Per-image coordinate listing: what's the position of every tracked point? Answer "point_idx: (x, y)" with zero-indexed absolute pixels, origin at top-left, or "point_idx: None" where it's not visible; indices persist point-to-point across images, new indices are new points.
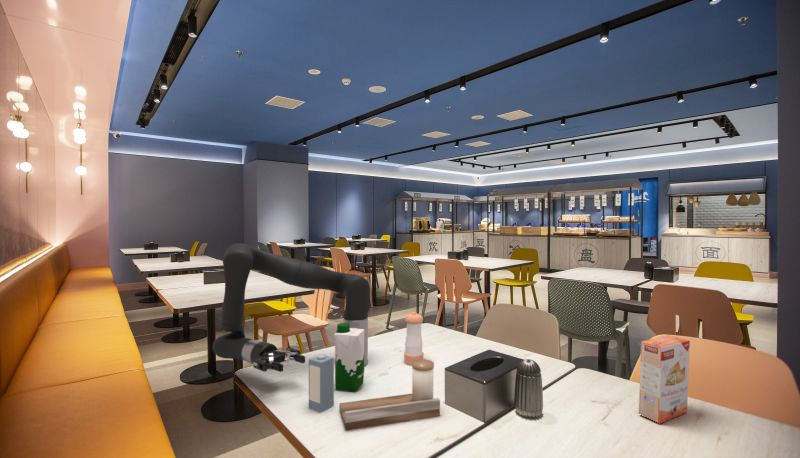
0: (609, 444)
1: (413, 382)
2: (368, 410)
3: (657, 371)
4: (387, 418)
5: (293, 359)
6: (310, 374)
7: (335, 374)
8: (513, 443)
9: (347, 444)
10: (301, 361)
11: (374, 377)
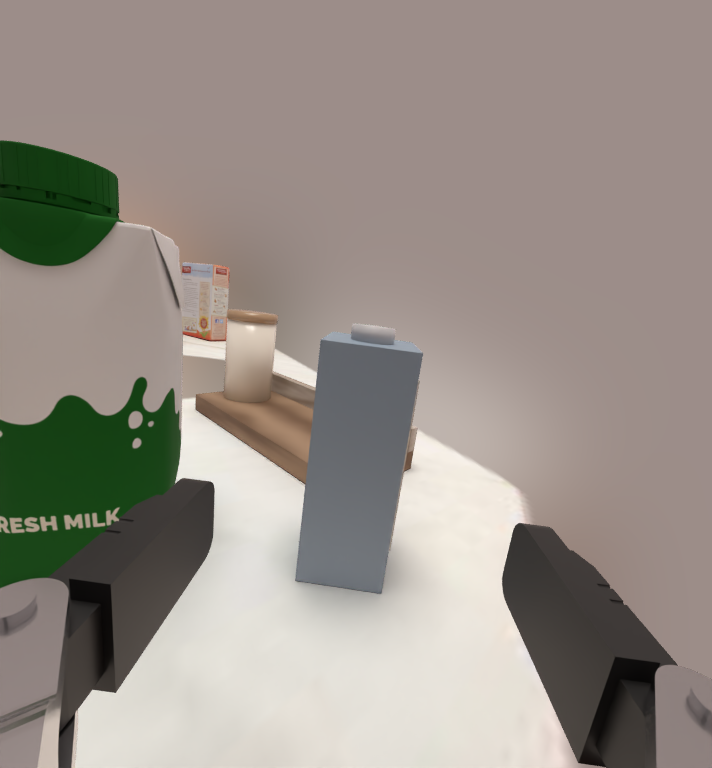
0: (274, 353)
1: (266, 356)
2: None
3: (225, 292)
4: None
5: (66, 739)
6: (410, 428)
7: (128, 508)
8: (306, 374)
9: (442, 456)
10: (198, 552)
11: None
